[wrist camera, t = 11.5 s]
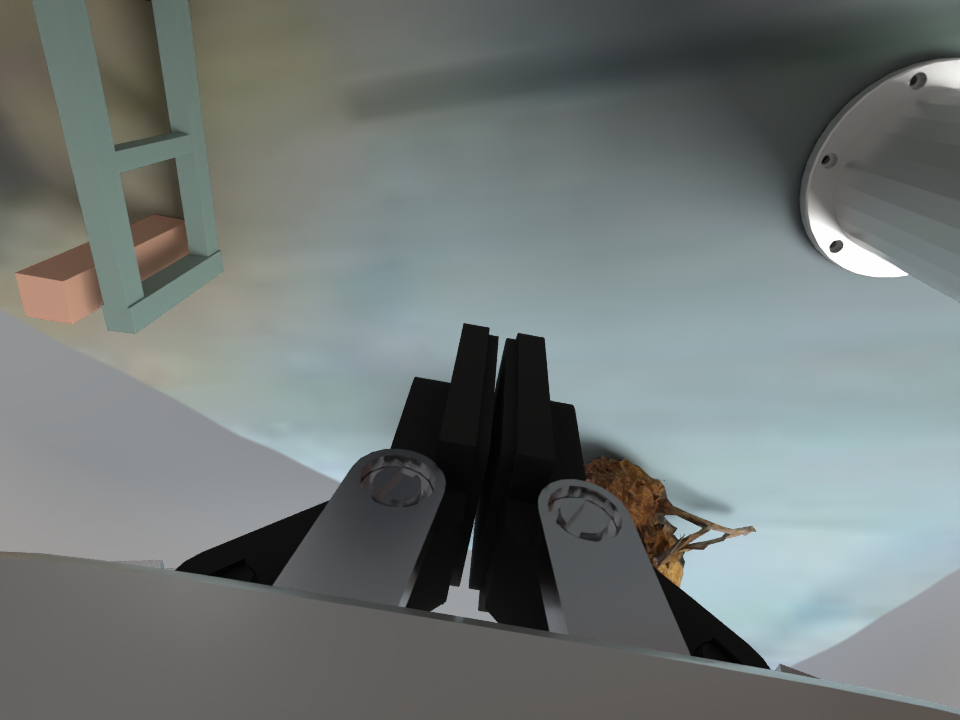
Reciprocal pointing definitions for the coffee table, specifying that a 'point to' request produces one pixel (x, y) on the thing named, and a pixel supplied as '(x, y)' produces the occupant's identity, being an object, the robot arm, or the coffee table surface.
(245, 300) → the coffee table surface
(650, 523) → the seed pod
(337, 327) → the coffee table surface
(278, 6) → the coffee table surface
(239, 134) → the coffee table surface
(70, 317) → the post
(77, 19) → the gate
